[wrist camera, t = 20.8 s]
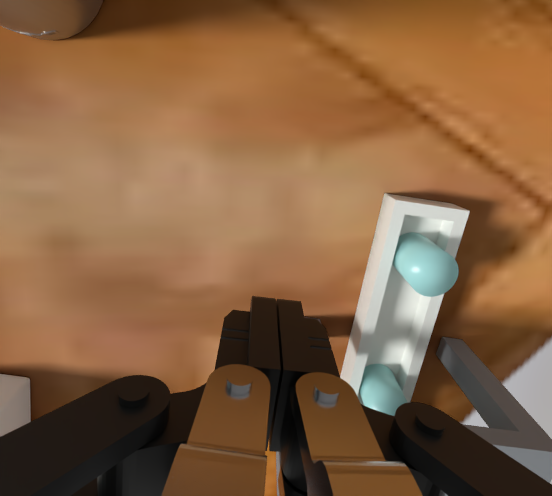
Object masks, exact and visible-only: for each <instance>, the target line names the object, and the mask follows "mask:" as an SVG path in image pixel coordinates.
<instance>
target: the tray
mask: <svg viewBox="0 0 552 496" xmlns="http://www.w3.org/2000/svg"><path fill="white" fill-rule="evenodd" d="M469 212H470V211H468V210H466V209H464V208H462V207H459V206H457V205H455V204H452V203H446V202H439V201H433V200H426V199H419V198H413V197H406V196H400V195H393V194H387V193H384V197H383V201H382V205H381V210H380V214H379V218H378V222H377V226H376V230H375V234H374V239H373V243H372V247H371V251H370V255H369V259H368V264H367V268H366V272H365V276H364V280H363V284H362V289H361V293H360V297H359V301H358V305H357V309H356V313H355V318H354V322H353V326H352V330H351V334H350V338H349V343H348V347H347V351H346V355H345V359H344V363H343V367H342V372H341V376H340V378H341V379H343V380H344V381H346V382H347V383H348V384H349V385H350V386H351V387H352V388H353V389H354V391H355V393H356V395H357V397H358V399H359V401H360V403H361V404H362V405H364V406H366V407H368V408H371V409H374V410H377V411H380V412H383V413H386V414H389V415H392V416H395V412H396V410H397V408H398V407H399V406H400V405H402V404H404V403H409V402H410V401H411V398H412V395H413V391H414V388H415V385H416V382H417V379H418V375H419V372H420V369H421V366H422V363H423V360H424V356H425V353H426V350H427V347H428V344H429V340H430V337H431V334H432V331H433V328H434V324H435V321H436V318H437V315H438V312H439V308H440V305H441V302H442V299H443V296H444V293H445V292H447V291H448V290H449V289H451V287H452V286H453V285H454V284H455V282H456V280H457V277H458V272H459V270H458V264H457V262H456V260H455V257H456V254H457V251H458V248H459V244H460V241H461V238H462V235H463V232H464V228H465V225H466V222H467V219H468V216H469Z"/></svg>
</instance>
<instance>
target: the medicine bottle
mask: <svg viewBox="0 0 552 496" xmlns="http://www.w3.org/2000/svg"><path fill="white" fill-rule="evenodd" d="M29 422H31V407H30V379H29V378H27V377H20V376H13V375H5V374H0V437H1V436H3V435H5V434H7V433H9V432H11V431H13V430H15V429H17V428H19V427H21V426H23V425H25V424H27V423H29Z"/></svg>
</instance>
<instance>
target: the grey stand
mask: <svg viewBox="0 0 552 496" xmlns="http://www.w3.org/2000/svg"><path fill="white" fill-rule="evenodd" d="M304 318H308V317H304ZM312 319H315V318H312ZM317 320H318V321H319V322H320V319H317ZM320 323H321V322H320ZM436 355H437V357H438V358H439V359H440V361H441V362H442V363H443V365H444V366H445V368H446V369H447V370H448V372H449V373H450V374H451V376H452V377H453V379H454V380H455V381H456V383H457V384H458V385H459V387H460V388H461V390H462V391H463V392H464V394H465V395H466V396H467V398H468V399H469V401H470V402H471V403H472V405H473V406H474V407H475V409H476V410H477V412H478V413H479V414H480V416H481V417H482V418H483V420H484V421H485V422H486V424H487V425H488V426H489V428H486V427H478V426H471V425H463V424H462V425H463V426H465V427H466V428H468V429H469V430H471V431H472V432H474V433H475V434H477V435H478V436H480V437H481V438H483V439H484V440H486V441H487V442H489V443H490V444H492V445H493V446H495V447H496V448H498V449H499V450H501V451H502V452H504V453H505V454H507V455H508V456H510V457H511V458H513V459H514V460H516V461H517V462H519V463H520V464H522V465H523V466H525V467H526V468H528V469H529V470H531V471H532V472H534V473H535V474H537V475H538V476H540V477H541V478H543V479H544V480H546V481H547V482H549V483H550V481H551V479H552V439H551V438H550V437H549V436H548V435H547V434H546V433H545V431H544V430H543V429H542V428H541V427H540V426H539V425H538V424H537V422H536V421H535V420H534V419H533V418H532V417H531V416H530V415H529V414H528V413H527V411H526V410H525V409H524V408H523V407H522V406H521V405H520V404H519V402H518V401H517V400H516V399H515V398H514V397H513V396H512V395H511V394H510V392H508V390H507V389H506V388H505V387H504V386H503V385H502V384H501V382H500V381H499V380H498V379H497V378H496V377H495V376H494V375H493V374H492V372H491V371H490V370H489V369H488V368H487V367H486V366H485V365H484V364H483V362H482V361H481V360H480V359H479V358H478V357H477V356H476V355H475V354H474V352H473V351H472V350H471V349H470V348H469V347H468V346H467V345H466V344H465V342H464V341H463V340H462V339H455V338H448V337H442V338H441V341H440V344H439V347H438V350H437V353H436ZM280 466H281V452H276V467H277V496H279V488H278V477H279V471H280ZM445 496H448V495H447V494H445Z"/></svg>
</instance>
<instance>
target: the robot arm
mask: <svg viewBox="0 0 552 496" xmlns="http://www.w3.org/2000/svg"><path fill="white" fill-rule="evenodd" d="M102 3H103V0H0V26H3V27H5V28H7V29H9V30H12V31H15V32H18V33H20V34H24V35H28V36H31V37H35V38H38V39H43V40H59V39H65V38H69V37H71V36H73V35H75V34H78V33H79V32H81V31H82V30H83V29H85V28H86V27H87V26H88V25H89V24H90V23H91V22H92V20H93V19H94V18H95V17H96V15H97V14H98V11H99V9H100V7H101V5H102ZM268 441H269V450H270V451H276V452H281V466H280V471H279V477H278V488H279V496H445V494H447V495H448V496H552V484H550V483H549V482H547V481H546V480H544V479H543V478H541V477H540V476H538V475H537V474H535V473H534V472H532V471H531V470H529V469H528V468H526V467H525V466H523V465H522V464H520V463H519V462H517V461H516V460H514V459H513V458H511V457H510V456H508V455H507V454H505V453H504V452H502V451H501V450H499V449H498V448H496V447H495V446H493V445H492V444H490V443H489V442H487V441H486V440H484V439H483V438H481V437H480V436H478V435H477V434H475V433H474V432H472V431H471V430H469V429H468V428H466V427H465V426H463V425H462V424H460V423H459V422H458V421H456V420H455V419H453V418H452V417H450V416H449V415H447V414H446V413H444V412H442V411H441V410H439V409H437V408H435V407H432V406H430V405H427V404H423V403H418V402H409V403H404V404H402V405H400V406H399V407H398V408H397V410H396V412H395V416H392V415H389V414H386V413H383V412H380V411H377V410H374V409H371V408H368V407H366V406H364V405H362V404H361V403H360V401H359V399H358V397H357V395H356V393H355V391H354V389H353V388H352V387H351V386H350V385H349V384H348V383H347V382H346V381H344V380H343V379H341V378H340V375H339V372H338V369H337V365H336V362H335V358H334V355H333V352H332V350H331V345H330V342H329V338H328V335H327V331H326V328H325V327H324V326H323V325H322V324H321V323H320V322H319V321H318V320H317V319H312V318H304V314H303V309H302V304H301V301H292V300H284V299H277V301H276V299H274V298H265V297H257V296H252V300H251V307H250V312H247V311H238V310H232V311H231V312H230V313H229V314H228V315H227V316H226V317H225V318H224V323H223V328H222V333H221V339H220V344H219V349H218V355H217V360H216V365H215V370H214V371H213V372H212V373H211V374H210V376H209V378H208V380H207V383H205V384H204V385H202V386H201V387H199V388H196V389H194V390H190V391H186V392H180V393H173V394H170V391H169V389H168V387H167V386H166V384H164V383H163V382H162V381H160V380H159V379H156V378H154V377H150V376H144V375H134V376H127V377H123V378H120V379H117V380H115V381H113V382H111V383H109V384H107V385H104V386H102V387H100V388H98V389H96V390H94V391H92V392H90V393H88V394H86V395H84V396H82V397H80V398H78V399H76V400H74V401H72V402H70V403H68V404H66V405H64V406H62V407H60V408H58V409H56V410H54V411H52V412H50V413H48V414H46V415H44V416H42V417H40V418H38V419H36V420H33V421H31V422H29V423H27V424H25V425H23V426H21V427H19V428H17V429H15V430H13V431H11V432H9V433H7V434H5V435H3V436H1V437H0V496H264V492H265V479H266V466H267V456H266V455H265V451H267V447H268Z"/></svg>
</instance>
